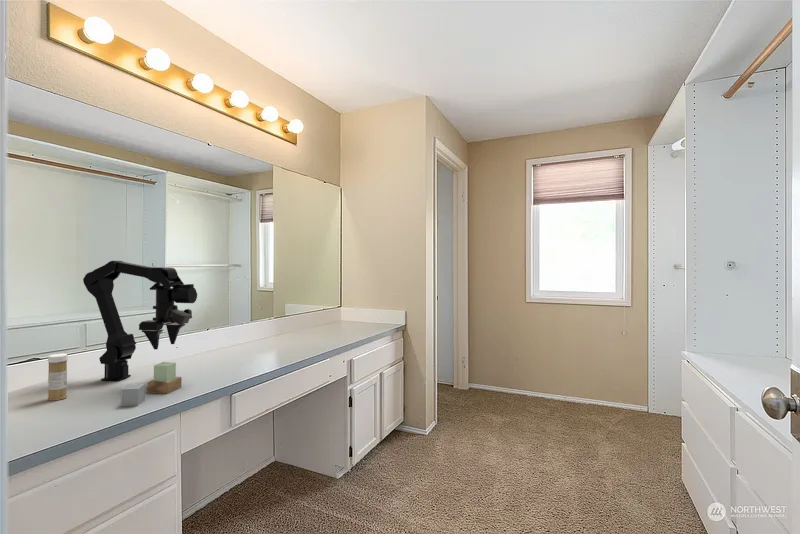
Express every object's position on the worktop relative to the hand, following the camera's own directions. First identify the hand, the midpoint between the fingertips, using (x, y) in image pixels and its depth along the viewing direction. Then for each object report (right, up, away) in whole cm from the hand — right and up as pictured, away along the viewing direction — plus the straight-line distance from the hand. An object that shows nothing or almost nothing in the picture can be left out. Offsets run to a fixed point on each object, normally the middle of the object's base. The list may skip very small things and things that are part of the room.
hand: (164, 346), depth 144 cm
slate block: (+4, -12, -23) cm, 27 cm away
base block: (+6, -12, -10) cm, 17 cm away
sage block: (+6, -9, -10) cm, 15 cm away
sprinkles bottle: (-21, -12, -21) cm, 32 cm away
